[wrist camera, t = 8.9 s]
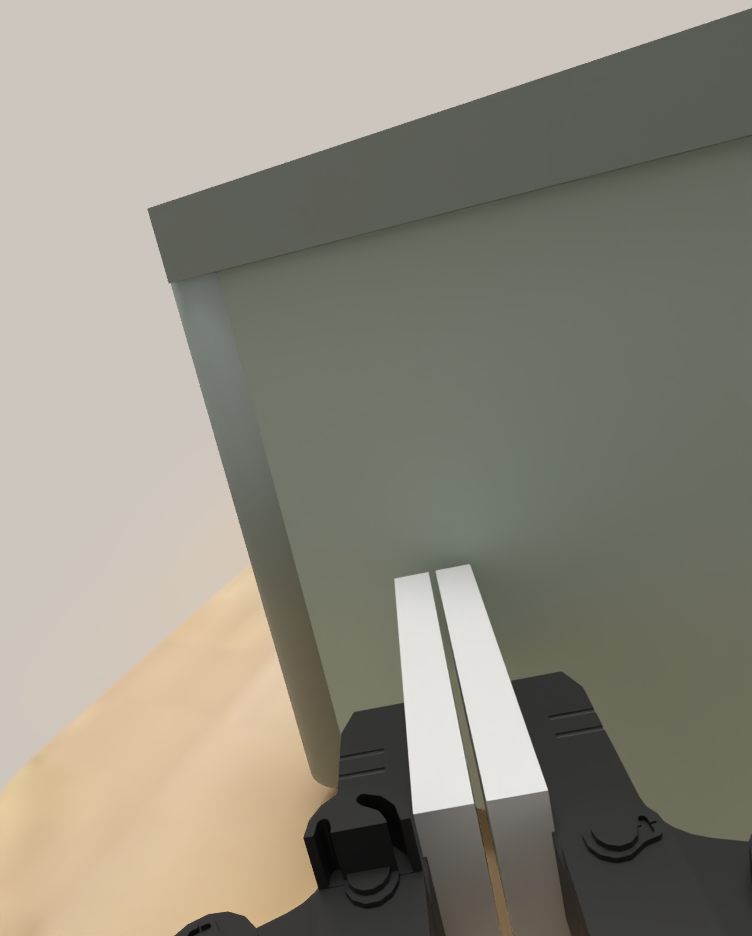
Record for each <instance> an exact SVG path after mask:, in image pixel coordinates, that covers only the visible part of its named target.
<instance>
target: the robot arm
mask: <svg viewBox="0 0 752 936" xmlns="http://www.w3.org/2000/svg"><path fill="white" fill-rule="evenodd" d="M436 576H437V581H438V586H439V591H440V596H441V601H442V606H443V611H444V615H445V620H446V625H447V630H448V635H449V640H450V645H451V650H452V655H453V660H454V665H455V670H456V675H457V680H458V684H459V689H460V694H461V698H462V703H463V708H464V712H465V717H466V721H467V726H468V731H469V735H470V740H471V745H472V749H473V754H474V758H475V763H476V768H477V772H478V777H479V782H480V786H481V791H482V795H483V800H484V805H485V809H486V814H487V819H488V823H489V828H490V832H491V837H492V842H493V846H494V851H495V856H496V860H497V865H498V869H499V874H500V879H501V883H502V888H503V893H504V897H505V902H506V906H507V911H508V916H509V920H510V925H511V930H512V934H513V936H752V834H751V836H750V839H749V842H748V841H738V840H729V839H719V838H710V837H705V836H700V835H694V834H690V833H688V832H685V831H683V830H680V829H677V828H675V827H673V826H671V825H669V824H668V823H666V822H664V821H663V819H662V818H661V817H660V816H659V814H658V813H656V812H655V811H653V810H652V809H650V808H648V807H647V806H646V805H645V804H644V802H643V801H642V799H641V798H640V797H639V795H638V793H637V791H636V789H635V787H634V785H633V783H632V781H631V779H630V777H629V775H628V773H627V771H626V770H625V768H624V766H623V764H622V762H621V760H620V758H619V756H618V754H617V752H616V750H615V748H614V746H613V744H612V742H611V740H610V739H609V737H608V735H607V733H606V731H605V730H604V729H603V725H602V723H601V721H600V719H599V717H598V715H597V713H596V712H595V711H594V708H593V706H592V704H591V702H590V700H589V698H588V696H587V694H586V692H585V690H584V688H583V687H582V686H581V685H580V684H578V683H577V682H576V681H574V680H573V679H572V678H570V677H569V676H568V675H566V674H565V673H563V672H562V671H560V672H555V673H549V674H544V675H539V676H533V677H528V678H523V679H517V680H512V681H510V679H509V676H508V673H507V670H506V667H505V664H504V661H503V658H502V655H501V653H500V650H499V647H498V644H497V641H496V638H495V635H494V632H493V629H492V627H491V624H490V621H489V618H488V615H487V612H486V609H485V606H484V603H483V600H482V598H481V595H480V592H479V589H478V586H477V583H476V580H475V577H474V574H473V572H472V569H471V566H470V564H467V565H462V566H457V567H452V568H447V569H441V570H436ZM394 582H395V594H396V607H397V619H398V632H399V644H400V657H401V669H402V682H403V694H404V703H399V704H394V705H389V706H383V707H378V708H372V709H367V710H362V711H356V712H354V713H353V714H352V716H351V718H350V719H349V721H348V723H347V725H346V726H345V728H344V730H343V731H342V733H341V745H340V761H339V780H338V793H337V795H336V796H334V797H333V798H331V799H330V800H329V801H327V802H326V803H324V804H323V805H321V806H320V808H319V809H318V810H317V811H316V813H315V814H314V815H313V816H312V818H311V819H310V820H309V822H308V826H307V829H306V832H305V835H304V842H305V845H306V848H307V852H308V855H309V858H310V862H311V865H312V868H313V872H314V875H315V878H316V882H317V885H318V889H317V890H316V892H315V893H314V894H312V895H311V896H310V897H309V898H308V899H307V900H306V901H305V902H304V903H303V904H301V905H299V906H298V907H296V908H295V909H293V910H291V911H290V912H288V913H286V914H284V915H282V916H280V917H278V918H276V919H274V920H272V921H270V922H268V923H266V924H264V925H262V926H260V927H258V928H255V927H254V926H253V924H252V923H251V922H250V921H249V920H248V919H247V918H246V917H245V916H242V915H238V914H235V913H231V912H221V913H214V914H208V915H206V916H204V917H202V918H200V919H198V920H196V921H194V922H192V923H190V924H188V925H186V926H185V927H184V928H183V929H182V930H181V931H179V932H178V933H177V934H176V935H175V936H501V930H500V925H499V920H498V915H497V910H496V905H495V900H494V895H493V890H492V885H491V880H490V875H489V870H488V865H487V860H486V855H485V850H484V845H483V840H482V835H481V830H480V825H479V820H478V815H477V810H476V805H475V800H474V795H473V790H472V785H471V780H470V775H469V770H468V765H467V760H466V755H465V750H464V745H463V740H462V735H461V730H460V725H459V720H458V715H457V709H456V704H455V699H454V694H453V689H452V684H451V679H450V674H449V670H448V665H447V660H446V655H445V650H444V645H443V640H442V635H441V631H440V626H439V621H438V616H437V611H436V606H435V601H434V596H433V592H432V587H431V582H430V577H429V572H426V573H421V574H416V575H411V576H406V577H400V578H395V579H394Z"/></svg>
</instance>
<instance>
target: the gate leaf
mask: <svg viewBox="0 0 752 936" xmlns="http://www.w3.org/2000/svg"><path fill="white" fill-rule="evenodd" d="M148 212H149V216H150V219H151V223H152V226H153V230H154V233H155V237H156V240H157V243H158V247H159V251H160V254H161V258H162V261H163V265H164V268H165V272H166V275H167V279H168V282H169V283H171V286H172V289H173V293H174V297H175V300H176V303H177V307H178V310H179V313H180V317H181V321H182V324H183V328H184V331H185V335H186V338H187V342H188V345H189V349H190V352H191V356H192V359H193V363H194V366H195V369H196V373H197V377H198V380H199V384H200V387H201V391H202V394H203V398H204V401H205V405H206V408H207V411H208V415H209V418H210V422H211V425H212V429H213V432H214V436H215V439H216V443H217V446H218V450H219V453H220V457H221V460H222V464H223V467H224V470H225V474H226V478H227V481H228V484H229V488H230V491H231V495H232V498H233V502H234V506H235V509H236V512H237V516H238V519H239V523H240V526H241V530H242V533H243V537H244V540H245V544H246V547H247V551H248V554H249V558H250V561H251V565H252V568H253V572H254V575H255V579H256V582H257V586H258V589H259V593H260V596H261V600H262V603H263V607H264V610H265V614H266V617H267V621H268V624H269V627H270V631H271V634H272V638H273V641H274V645H275V648H276V652H277V655H278V659H279V662H280V666H281V669H282V673H283V676H284V680H285V683H286V687H287V690H288V694H289V697H290V701H291V704H292V708H293V711H294V715H295V718H296V722H297V725H298V729H299V732H300V735H301V739H302V742H303V746H304V749H305V753H306V756H307V760H308V763H309V767H310V770H311V774H312V776H313V777H314V779H315V780H316V781H317V782H318V783H320V784H322V785H324V786H327V787H331V788H338V780H339V761H340V745H341V733H342V731H343V730H344V728H345V726H346V725H347V723H348V721H349V719H350V718H351V716H352V714H353V713H354V712H356V711H362V710H367V709H372V708H378V707H383V706H389V705H394V704H399V703H404V694H403V682H402V669H401V657H400V644H399V632H398V619H397V607H396V594H395V582H394V579H395V578H400V577H406V576H411V575H416V574H421V573H426V572H429V577H430V582H431V587H432V592H433V596H434V601H435V606H436V611H437V616H438V621H439V626H440V631H441V635H442V640H443V645H444V650H445V655H446V660H447V665H448V670H449V674H450V679H451V684H452V689H453V694H454V699H455V704H456V709H457V715H458V720H459V725H460V730H461V735H462V740H463V745H464V750H465V755H466V760H467V765H468V770H469V775H470V780H471V785H472V790H473V795H474V800H475V805H476V808H478V809H483V810H486V809H485V805H484V800H483V795H482V791H481V786H480V782H479V777H478V772H477V768H476V763H475V758H474V754H473V749H472V745H471V740H470V735H469V731H468V726H467V721H466V717H465V712H464V708H463V703H462V698H461V694H460V689H459V684H458V680H457V675H456V670H455V665H454V660H453V655H452V650H451V645H450V640H449V635H448V630H447V625H446V620H445V615H444V611H443V606H442V601H441V596H440V591H439V586H438V581H437V576H436V570H441V569H447V568H452V567H457V566H462V565H467V564H470V566H471V569H472V572H473V574H474V577H475V580H476V583H477V586H478V589H479V592H480V595H481V598H482V600H483V603H484V606H485V609H486V612H487V615H488V618H489V621H490V624H491V627H492V629H493V632H494V635H495V638H496V641H497V644H498V647H499V650H500V653H501V655H502V658H503V661H504V664H505V667H506V670H507V673H508V676H509V679H510V681H512V680H517V679H523V678H528V677H533V676H539V675H544V674H549V673H555V672H560V671H562V672H563V673H565V674H566V675H568V676H569V677H570V678H572V679H573V680H574V681H576V682H577V683H578V684H580V685H581V686H582V687H583V688H584V690H585V692H586V694H587V696H588V698H589V700H590V702H591V704H592V706H593V708H594V711H595V712H596V713H597V715H598V717H599V719H600V721H601V723H602V725H603V729H604V730H605V731H606V733H607V735H608V737H609V739H610V740H611V742H612V744H613V746H614V748H615V750H616V752H617V754H618V756H619V758H620V760H621V762H622V764H623V766H624V768H625V770H626V771H627V773H628V775H629V777H630V779H631V781H632V783H633V785H634V787H635V789H636V791H637V793H638V795H639V797H640V798H641V799H642V801H643V802H644V804H645V805H646V806H647V807H648V808H650V809H652V810H653V811H655V812H656V813H658V814H659V816H660V817H661V818H662V819H663V821H664V822H666V823H668V824H669V825H671V826H673V827H675V828H677V829H680V830H683V831H685V832H688V833H690V834H694V835H700V836H705V837H710V838H719V839H729V840H738V841H748V842H749V839H750V836H751V834H752V8H751V9H748V10H745V11H742V12H739V13H736V14H733V15H730V16H727V17H724V18H721V19H718V20H715V21H712V22H709V23H706V24H703V25H700V26H697V27H694V28H691V29H688V30H685V31H682V32H679V33H676V34H673V35H670V36H667V37H664V38H661V39H658V40H654V41H652V42H648V43H646V44H642V45H640V46H636V47H634V48H630V49H627V50H625V51H621V52H618V53H615V54H613V55H609V56H606V57H603V58H600V59H597V60H594V61H591V62H588V63H585V64H582V65H579V66H576V67H573V68H570V69H567V70H564V71H561V72H558V73H555V74H552V75H550V76H546V77H543V78H540V79H537V80H534V81H531V82H528V83H525V84H522V85H519V86H516V87H513V88H510V89H507V90H504V91H501V92H498V93H495V94H492V95H489V96H486V97H483V98H480V99H477V100H474V101H471V102H468V103H465V104H462V105H459V106H456V107H453V108H450V109H447V110H444V111H441V112H437V113H435V114H431V115H428V116H426V117H423V118H419V119H417V120H414V121H411V122H407V123H404V124H401V125H398V126H395V127H392V128H390V129H386V130H383V131H380V132H377V133H374V134H371V135H369V136H365V137H362V138H359V139H356V140H353V141H350V142H347V143H344V144H341V145H338V146H335V147H332V148H329V149H326V150H323V151H320V152H317V153H314V154H311V155H308V156H305V157H302V158H299V159H296V160H293V161H290V162H287V163H284V164H281V165H278V166H275V167H272V168H269V169H266V170H263V171H260V172H257V173H254V174H251V175H248V176H245V177H242V178H239V179H236V180H233V181H230V182H227V183H224V184H221V185H218V186H215V187H211V188H208V189H205V190H202V191H199V192H196V193H194V194H190V195H187V196H185V197H182V198H178V199H176V200H172V201H169V202H166V203H163V204H160V205H157V206H154V207H151V208H148Z"/></svg>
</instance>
